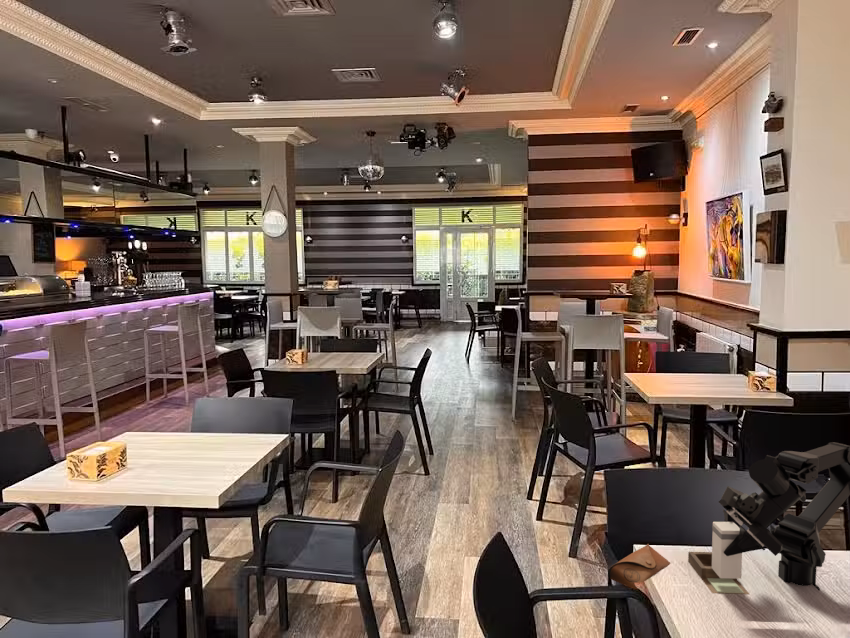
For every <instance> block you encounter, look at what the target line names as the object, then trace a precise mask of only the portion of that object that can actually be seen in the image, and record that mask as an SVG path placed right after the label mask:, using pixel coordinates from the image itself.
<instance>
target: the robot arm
mask: <svg viewBox="0 0 850 638" xmlns="http://www.w3.org/2000/svg"><path fill="white" fill-rule="evenodd" d="M827 469H828V473H829V479H828V481H827V482H826V483H825V484H824V486H822V488H821V489H820V491H818V492H817V494H816V495H814V497H813V498H812V499H811V501H810V502H809V503H808V504H807V506H806V507H805V508H804V509H803V510H802V512H800V514H799V515H798V516H797V515H794V514H792V513H787V514H785V513H786V512H787V511H788V510H789V509H790V508H791V507H793V506H794V505H795V504H796V503H797V502H798V501H801V502H802V503H805V502H806V501H807V496H806V493H807V490H806V489H805V488H804V487H802V485H800V484H796V483H795V482H799V483H802V484H810V483H812V482H813V481H815V480H816V479H818V478H819V473H820V472H822V471H825V470H827ZM748 474H749V476H750V479H751V480H752V481H753V482H754V484H755V485H757V486H758V487H759V488H760V489H761V490H762V491H761V492H760V493H757V492H752V493H751V494H748V493H745V492H742V491H740V490H738V489H736V488H733V487H731V486H728V485H727V486H726V489H725V490H724V492H723V494H722V496H721V499H720V500H719V501H718V503H719V505H721V506H722V507H723V509H722V512H723V515H724V517H723V518H724V521H723V522H734V523H735V524H736V525H737V526H738V527H739V528H740V532H739V535H738V536H737V537H736V538H735V539H734V541H733V542H732V543H731V544H730V545H729V546H728V547H727V548H726V549H725V551H724V554H725V555H726V556H731V555H735V554H739V553H742V554H743V553H747V552H753V551H759V550H762V551H765V550H766V549H768V550H769V552H771V554H772V555H773V556H778V554H780V555H781V556H780V560H779V561H778V573H777V574H778V577H779V579H781V581H783V582H784V583H788V584H793V585H796V586H799V587H800V586H801V587H802V586H803V587H808V586H813V587H814V588H816V590H817V591H820V586H818V584H816V582H817V568H821V567H823V564H824V562H825V560H826V556H827V555H826V551H824V550H823V548H822V547H821V539H820V532H821V531H822V530H823V529H824V527H825V526H826V525H827V523H829V521H830V520H831V518H832V517H833V516H834V515H835V514H836V512H838V510H839V509H840V507H842V505H843V504H844V503H845V502H846V500H847V499H848V498H849V497H850V445H847V444H844V443H839V442H833V441H832V442H827V444H826V445H823V446H820V447H817V448H816V447H815V448H814V449H810V450H807V451H804V452H803V451H801V452H800V451H793V450H784V451H783V450H782V451H781V452H779V453H778V455H776V456H771V455H768V454H767V455H765V458H763V459H759V460H756V461H754V463H752V464H751V465H750V467H749V469H748ZM792 480H793V481H792ZM794 481H795V482H794ZM784 514H785V515H784ZM783 515H784V517H783ZM776 520H778V521H779V522H777V525H776V527H774V529H773V531H772V532H771V531H770V530H769V527H770V526H771V525H772V524H774V522H776ZM743 525H745V527H747V530H746V528H744V527H743ZM764 546H765V547H766V548H765V547H764Z"/></svg>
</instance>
